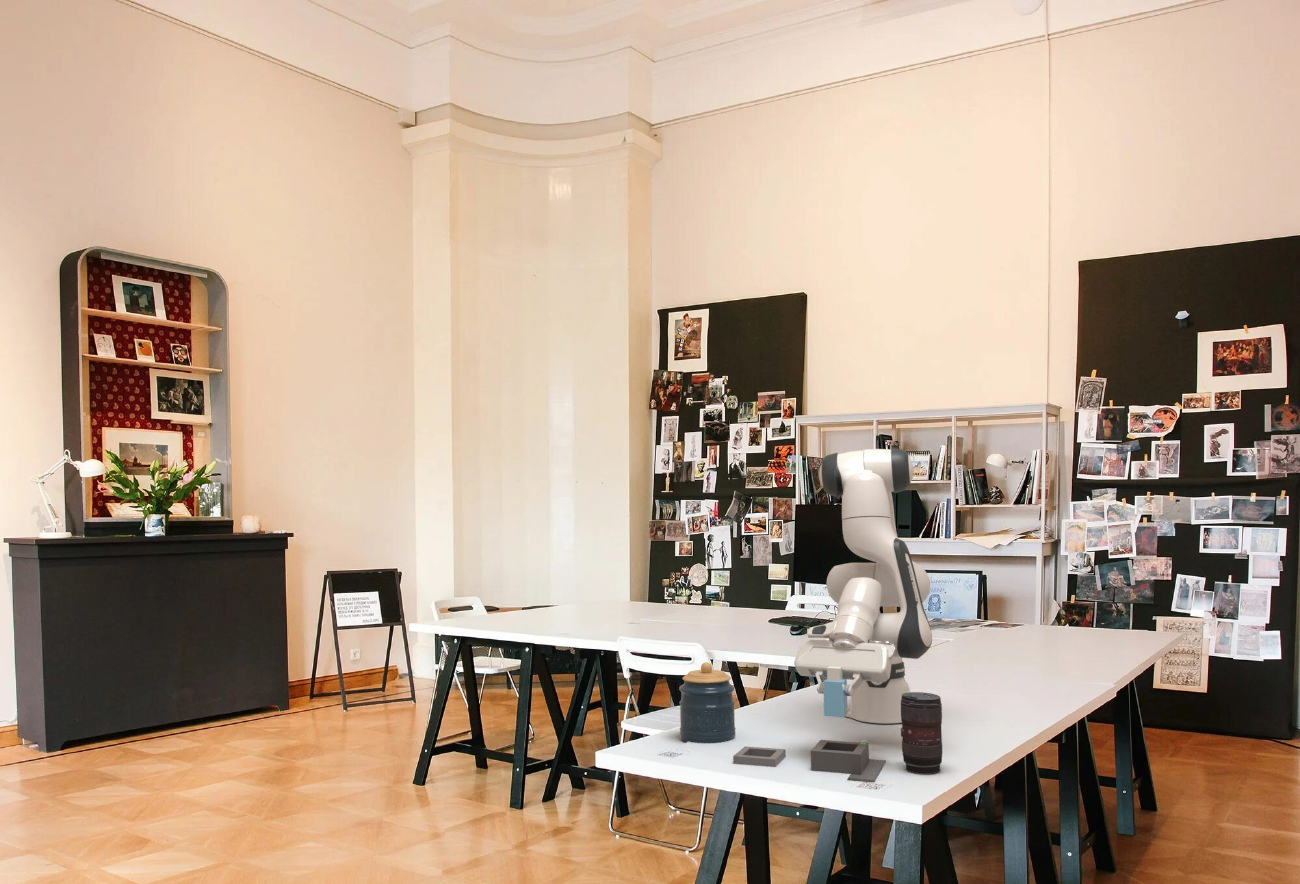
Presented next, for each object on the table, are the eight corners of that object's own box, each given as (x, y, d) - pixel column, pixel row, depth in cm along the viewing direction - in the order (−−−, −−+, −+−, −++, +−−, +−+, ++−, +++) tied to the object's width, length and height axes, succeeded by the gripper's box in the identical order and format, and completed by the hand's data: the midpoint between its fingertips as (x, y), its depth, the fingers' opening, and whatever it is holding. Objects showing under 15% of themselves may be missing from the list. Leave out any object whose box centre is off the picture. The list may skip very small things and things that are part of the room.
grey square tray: (745, 755, 216) (744, 746, 216) (785, 758, 213) (785, 749, 213) (733, 765, 208) (733, 756, 208) (775, 769, 204) (775, 759, 205)
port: (810, 756, 214) (809, 732, 215) (885, 762, 209) (885, 737, 209) (793, 775, 200) (792, 750, 200) (874, 782, 194) (873, 756, 194)
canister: (747, 738, 233) (745, 661, 234) (712, 748, 223) (710, 668, 224) (703, 730, 241) (702, 656, 243) (668, 740, 232) (667, 663, 233)
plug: (828, 712, 208) (827, 665, 208) (847, 713, 206) (846, 666, 207) (824, 715, 204) (823, 668, 205) (843, 717, 202) (842, 669, 203)
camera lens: (926, 777, 196) (924, 700, 197) (894, 769, 203) (891, 694, 204) (952, 770, 201) (949, 695, 202) (920, 762, 208) (917, 690, 209)
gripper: (900, 651, 210) (887, 706, 201) (810, 645, 221) (793, 698, 212) (893, 632, 207) (879, 688, 198) (801, 627, 217) (784, 680, 208)
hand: (834, 693), depth 205 cm, fingers closed on plug, 4 cm apart
